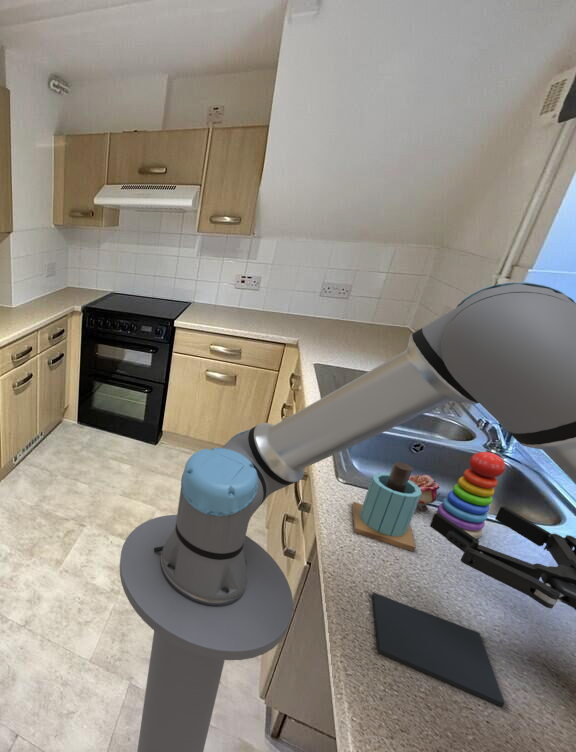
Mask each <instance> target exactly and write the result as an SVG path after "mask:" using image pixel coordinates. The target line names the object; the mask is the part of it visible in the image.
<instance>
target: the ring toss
mask: <svg viewBox="0 0 576 752" xmlns="http://www.w3.org/2000/svg"><path fill="white" fill-rule="evenodd" d="M389 473H390V476H389V479H388V482H387V484H386V487H387V488H389V489H391V490H393V491H397V492H401V493H404V491H405V488H406V485H407V483H408V480H409V477H410V476H412V473H413V467H412V466H411V465H409V464H407V463H404V462H401V461H395V462H394V463H393V466H392V469H391V471H390V472H389ZM362 506H363V503H359V502H356V501H353V503H352V506H351V507H352V520H353V532H354V533H356V534H359V535H362V536H365V537H368V538H371V539H374V540H376V541H380V542H383V543H386V544H389V545H392V546H395V547H398V548H400V549H401V548H402V549H404V550H407V551H410V552H414V551H415V549H416V545H415V540H414V537H413V533H412V529H411V525H410V524H409V527H408V529H407V532H406V534H404V535H403V536H391V535H390V536H389V535H386V534H382V533H379V531H378V532H377V531H375V530H374V529H372V528H370V527H369V526H368V525H366V524H365V523H364V522H363V521H362V520H361V518H360V512H361V509H362Z"/></svg>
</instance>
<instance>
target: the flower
mask: <svg viewBox="0 0 576 752" xmlns="http://www.w3.org/2000/svg"><path fill="white" fill-rule="evenodd" d="M409 480H410V481H411V482H413V483H414V484H416V485H417V486H418V487H419V488H420V489H421V492H422V494H421V497H420V499H419V502H418V504H417V506H419V507H420V508H421V509H422V511H428V510H429V509H428V507H427V504H434V503H435V502H436V500H437V499H438V498H439V496H440V495H441V492H439V493H438V490H439V489H440V486H439V484H438V483H437V481H436V480H434V479H433V478H432V476H431V475H428V474H423V475H421V474H420V473H419V474H417V475H415V474H414V475H410V477H409Z"/></svg>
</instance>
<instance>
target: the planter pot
mask: <svg viewBox="0 0 576 752" xmlns="http://www.w3.org/2000/svg"><path fill="white" fill-rule="evenodd" d="M390 473H391V472H376V473H374V474H372V477H371V479H370V483H369V485H368V489H367V491H366V494H365V497H364V500H363V503H362V504H363V506H362V509H361V512H360V518H361V520H362V521H363V522H364V523H365V524H366V525H368V526H369V527H370V528H372V529H374V530H375V531H377V532H378V531H379V533H382V534H386V535H389V536H390V535H391V536H403V535H404V534H406V532H407V529H408V527H409V525H410V524H411V521H412V520H413V519H412V518H413V517H414V515H415V512H416V509H417V506H418V505H417V504H418V502H419V499H420V497H421V494H422V492H421V489H420V488H419V487H418V486H417V485H416V484H414V483H413V482H411V481H410V480H408V483H407V485H406V488H405V491H404V493H401V492H397V491H393V490H391V489H389V488H387V487H386V484H387V482H388V479H389V476H390Z"/></svg>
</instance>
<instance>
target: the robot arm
mask: <svg viewBox="0 0 576 752" xmlns="http://www.w3.org/2000/svg"><path fill="white" fill-rule="evenodd" d="M451 402H461V403H466V404H471V405H478V404H479V405H481V407H483V409H485V410H486V411H487V413H489V415H490V416H492V417H493V419H495V420H496V421H497V422H498V423H499V424H500V425H501V426H502V427H503V428H504V429H505V430H506V431H507V432H508V433H509V434H510V435H511V437H513V439H515V441H517V443H519V445H522V447H526V448H532V449H537V450H542V451H543V452H544V453H545V455H547V456H548V457H549V458H550V460H552V461H553V462H554V463H555V465H557V467H558V468H559V469H560V470H561V471H562V472H563V473H564V474H565V475H566V476H567V477H568V478H569V479H570V480H571V481H572V482H573V484H575V485H576V301H575V300H574V298H572V297H570V296H568V295H567V294H566V293H564V292H563V291H561V290H559V289H556V288H553V287H550V286H548V285H545V284H540V283H534V282H525V281H523V282H522V281H519V282H505V283H498V284H495V285H490V286H487V287H484V288H481V289H479V290H476V291H475V292H473V293H471V294H470V295H468V296H466V297H465V298H464V299H463V300H461V302H460V303H458V304H457V306H455V308H453V309H452V310H450V311H448V312H446V313H445V314H443V315H442V316H439V317H438V318H436V319H435V320H433V321H432V322H429V323H428V324H426V325H424V326H423V327H421V328H419V329H417V330H416V331H414V332H412V333H411V334H410V335H409V338H408V343H407V348H406V349H405V350H404V351H402V352H401V353H398V354H397V355H395V356H393V357H392V358H390V359H388V360H387V361H385V362H382V363H381V364H380V365H377V366H376V367H374V368H372V369H371V370H368V371H367V372H365V373H364V374H362V375H360V376H359V377H356V378H355V379H353V380H351V381H350V382H348V383H346V384H344V385H343V386H341V387H339V388H337V389H335V390H333V391H332V392H330V393H329V394H327V395H325V396H323V397H322V398H320V399H318V400H316V401H314V402H313V403H311V404H309V405H308V406H306V407H304V408H302V409H300V410H299V411H297V412H295V413H292V415H290V416H288V417H286V418H285V419H283V420H281V421H279V422H278V423H276V424H272V423H269V422H261V423H259V424H256V425H255V426H254V427H252V428H250V429H246V430H243V431H240V432H238V433H236V434H235V435H233V436H232V437H231V438H230V439H229V440H228V441H227V442H226V443H225V444H224V445H222V446H221V447H213V448H212V449H209V448H203V449H200V450H198V451H196V452H194V453H193V454H192V455H191V456H190V457H189V458H188V459H187V460H186V462H185V465H184V469H183V472H182V474H181V480H180V491H179V499H178V505H177V513H176V515H177V520H176V527H175V529H174V530H173V532H172V533H171V535H170V537H169V538H168V540H167V541H166V543H165V545H164V546H161V547H156V548H154V551H155V552H160V551H162V553H161V561H160V565H161V570H162V573H163V575H164V577H165V579H166V580H167V582H168V583H169V584H170V585H171V587H172V588H173V589H174V590H176V591H177V592H178V593H179V594H181V595H182V596H184V597H185V598H187V599H189V600H191V601H193V602H196V603H198V604H202V605H206V606H213V607H221V606H227V605H230V604H233V603H235V602H236V601H238V600H239V599H240V598H241V597H242V596H243V594H244V592H245V589H246V584H247V568H246V563H247V561H246V560H245V558H244V553H243V545H244V541H245V536H247V531H248V527H249V523H250V521H251V518H252V516H253V515H254V514H255V513H256V512H257V510H258V509H259V508H260V507H261V506H262V505H263V504H264V502H265V500H267V498H268V497H269V496H270V495H272V494H274V493H275V492H277V491H279V490H282V489H284V488H286V487H288V486H290V485H293V484H296V483H298V482H300V481H301V480H302V479H303V478H304V475H305V469H306V468H307V467H311V466H312V465H314V464H317V463H319V462H321V461H323V460H325V459H327V458H330V457H332V456H334V455H337V454H339V453H341V452H342V451H345V450H347V449H350V448H352V447H354V446H356V445H359V444H360V443H363V442H365V441H367V440H369V439H371V438H372V439H373V438H374V437H377V436H379V435H381V434H383V433H385V432H387V431H389V430H392V429H394V428H396V427H398V426H400V425H403V424H405V423H407V422H409V421H412V420H414V419H416V418H419V417H420V416H423V415H425V414H427V413H429V412H432V411H435V410H436V409H438V408H440V407H442V406H444V405H446V404H449V403H451ZM433 514H434V513H433ZM494 520H495V521H497V522H498V523H500V524H502V525H504V526H505V527H507V528H509V529H510V530H512V531H513V532H515V533H517V534H519V535H520V536H522V537H523V538H524V539H526V540H528V541H530V542H532V543H533V544H535V545H536V546H537V547H543V546H544V544H545V546H544V548H543V551H547V552H549V553H550V555H551V557H552V558H553V560H554V561H555V563H556V565H557V566H552V565H549V566H547V565H544V564H541V563H530V562H528V561H525V560H522V559H521V558H520V559H519V558H516V557H514V556H512V555H509V554H506V553H504V552H500V551H498V550H495V549H493V548H491V547H490V548H489V547H487V546H484V545H482V544H480V540H479V539H478V538H474V537H473V536H471V535H470V534H468V533H467V532H466V531H464V530H463V529H461V528H460V527H458V526H457V525H455V524H454V523H452V522H451V521H449V520H448V519H446V518H445V517H443V516H442V515H441V514H439V513H435V514H434V517H433V516H432V519H431V522H430V524H429V527H430V528H432V529H433V530H434V531H435V532H437V533H439V535H441V536H443V537H444V538H445V539H446V540H447V541H448V542H449V543H451V544H452V545H454V547H456V548H457V549H459V550H460V551H462V552H463V554H462V556H461V558H460V562H461V563H463V564H464V565H466V566H468V567H470V568H472V569H474V570H476V571H477V572H480V573H482V574H484V575H486V576H488V577H490V578H492V579H494V580H496V581H498V582H501V583H502V584H504V585H506V586H509V587H510V588H511V589H513V590H516V591H517V592H520V593H521V594H524V595H526V596H528V597H529V598H531V599H533V600H534V601H535V602H537V603H538V604H540V605H542V606H543V607H545V608H547V609H553V608H554V607H555V605H556V603H563V604H565V605H567V606H569V607H570V608H572V609H573V610H575V611H576V537H575V536H572V535H569V534H566V535H565V536H564V537H563V536H561V535H560V534H557V533H551V532H549V531H547V530H546V529H544V528H543V527H541V526H540V525H538V524H536V523H534V522H532V521H530V520H529V519H527V518H525V517H523V516H522V515H520V514H518V513H516V512H515V511H513V510H512V509H510V508H508V507H506V506H500V508H499V510H498V512H497V513H496V515H495V519H494ZM540 579H541V580H540Z"/></svg>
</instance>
